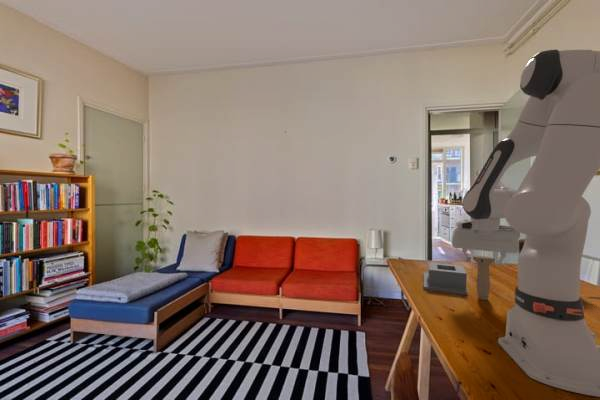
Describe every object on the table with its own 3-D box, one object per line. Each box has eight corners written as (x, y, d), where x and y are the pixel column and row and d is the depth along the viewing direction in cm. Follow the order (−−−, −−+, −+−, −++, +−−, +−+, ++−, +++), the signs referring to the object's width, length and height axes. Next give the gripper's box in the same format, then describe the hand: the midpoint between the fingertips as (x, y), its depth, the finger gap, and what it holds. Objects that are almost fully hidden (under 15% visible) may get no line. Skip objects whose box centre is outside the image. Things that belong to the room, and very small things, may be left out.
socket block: (467, 295, 105) (467, 275, 104) (423, 289, 111) (423, 271, 110) (460, 278, 125) (460, 262, 125) (423, 274, 131) (423, 259, 131)
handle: (492, 303, 97) (493, 260, 97) (471, 298, 101) (471, 257, 101) (494, 299, 100) (495, 257, 100) (474, 294, 105) (474, 255, 105)
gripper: (517, 225, 99) (515, 264, 100) (452, 221, 107) (450, 257, 108) (523, 227, 93) (521, 268, 94) (453, 223, 102) (451, 261, 102)
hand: (482, 262), depth 101 cm, fingers open, 8 cm apart
